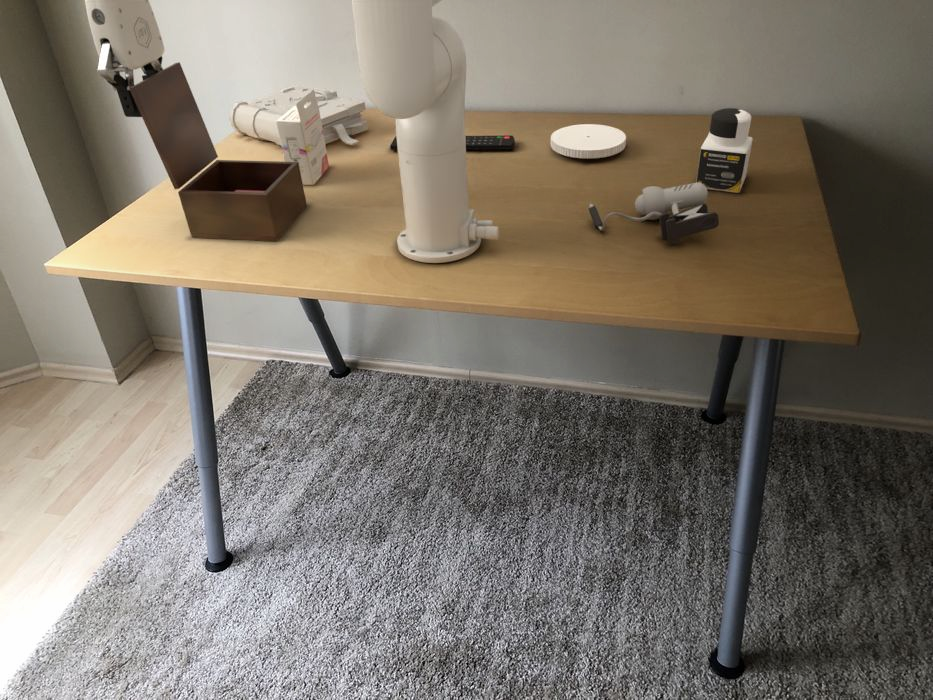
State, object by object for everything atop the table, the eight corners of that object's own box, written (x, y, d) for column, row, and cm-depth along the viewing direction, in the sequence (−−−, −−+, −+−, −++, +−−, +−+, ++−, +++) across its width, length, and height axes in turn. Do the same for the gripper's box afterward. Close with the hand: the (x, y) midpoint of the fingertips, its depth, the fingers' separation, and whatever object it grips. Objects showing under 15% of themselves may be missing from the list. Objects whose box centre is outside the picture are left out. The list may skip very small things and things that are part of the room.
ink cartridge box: (305, 166, 138) (290, 87, 130) (330, 167, 137) (316, 88, 129) (287, 185, 132) (270, 103, 123) (313, 185, 131) (298, 103, 122)
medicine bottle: (694, 188, 122) (705, 116, 115) (703, 172, 127) (713, 103, 120) (739, 193, 119) (752, 121, 112) (745, 177, 124) (758, 106, 117)
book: (317, 164, 139) (310, 124, 135) (231, 136, 154) (222, 100, 150) (388, 134, 151) (384, 97, 146) (302, 111, 166) (296, 76, 161)
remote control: (396, 142, 146) (395, 136, 146) (515, 142, 143) (515, 135, 142) (390, 152, 142) (390, 145, 141) (513, 152, 139) (513, 145, 138)
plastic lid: (625, 137, 142) (626, 124, 141) (625, 164, 131) (626, 150, 130) (553, 136, 145) (553, 123, 143) (547, 163, 134) (547, 149, 132)
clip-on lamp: (596, 262, 109) (721, 239, 105) (588, 227, 105) (718, 201, 101) (592, 220, 118) (707, 197, 113) (585, 186, 114) (704, 161, 110)
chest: (307, 205, 124) (298, 161, 119) (276, 241, 114) (266, 194, 109) (228, 202, 127) (216, 159, 122) (191, 237, 116) (177, 192, 112)
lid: (179, 62, 113) (149, 67, 115) (133, 87, 103) (100, 93, 104) (218, 156, 122) (189, 161, 123) (179, 188, 111) (148, 193, 113)
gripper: (96, -10, 94) (139, 128, 104) (165, -32, 107) (197, 92, 118) (45, -9, 95) (92, 127, 105) (119, -32, 108) (155, 91, 119)
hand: (147, 107), depth 111 cm, fingers closed on lid, 6 cm apart
